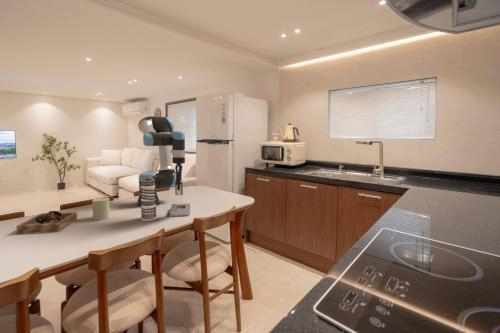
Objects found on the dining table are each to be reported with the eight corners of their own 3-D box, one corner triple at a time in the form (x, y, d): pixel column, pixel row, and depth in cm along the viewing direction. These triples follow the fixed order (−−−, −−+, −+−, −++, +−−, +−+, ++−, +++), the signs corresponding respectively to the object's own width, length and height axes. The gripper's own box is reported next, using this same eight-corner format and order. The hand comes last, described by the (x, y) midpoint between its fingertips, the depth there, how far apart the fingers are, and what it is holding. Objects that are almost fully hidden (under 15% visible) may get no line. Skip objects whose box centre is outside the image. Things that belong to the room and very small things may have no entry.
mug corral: (17, 233, 133) (16, 226, 132) (41, 220, 153) (40, 213, 153) (59, 231, 136) (59, 224, 136) (77, 218, 157) (76, 212, 156)
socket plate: (169, 216, 163) (169, 210, 163) (172, 209, 179) (172, 203, 178) (189, 215, 165) (189, 209, 165) (190, 208, 181) (190, 203, 181)
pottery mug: (53, 221, 154) (60, 209, 153) (60, 231, 150) (67, 219, 149) (29, 221, 143) (36, 209, 142) (36, 232, 139) (43, 219, 138)
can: (113, 216, 162) (112, 197, 160) (101, 221, 153) (99, 200, 152) (102, 214, 165) (101, 196, 163) (89, 219, 156) (87, 199, 155)
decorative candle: (140, 216, 161) (139, 176, 158) (156, 215, 165) (155, 176, 162) (140, 221, 153) (138, 179, 150) (157, 220, 156) (155, 178, 153)
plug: (175, 195, 162) (175, 181, 160) (176, 193, 166) (175, 180, 164) (182, 195, 162) (182, 181, 161) (182, 193, 167) (182, 180, 165)
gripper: (184, 158, 153) (184, 197, 156) (185, 155, 170) (186, 190, 173) (170, 158, 152) (171, 197, 155) (173, 155, 168) (174, 190, 172)
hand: (179, 193), depth 164 cm, fingers closed on plug, 4 cm apart
